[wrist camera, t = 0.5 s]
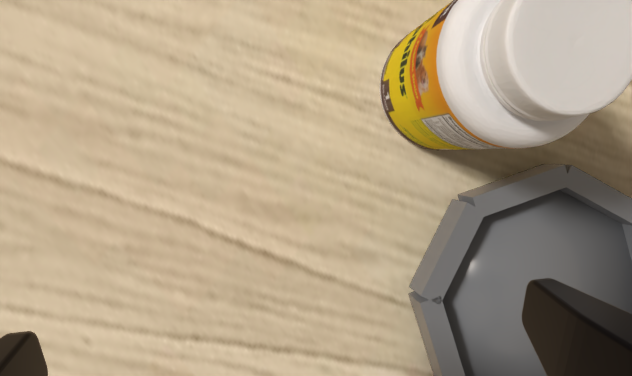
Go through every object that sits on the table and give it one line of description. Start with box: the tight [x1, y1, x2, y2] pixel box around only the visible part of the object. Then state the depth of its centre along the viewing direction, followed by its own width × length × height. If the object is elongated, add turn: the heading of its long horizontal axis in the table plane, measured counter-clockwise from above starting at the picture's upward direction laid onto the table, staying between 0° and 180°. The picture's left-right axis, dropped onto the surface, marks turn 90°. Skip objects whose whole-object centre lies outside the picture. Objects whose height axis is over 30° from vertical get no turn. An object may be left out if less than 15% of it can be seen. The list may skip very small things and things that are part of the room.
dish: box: [409, 164, 632, 376], centre depth 24 cm, size 12×12×2 cm
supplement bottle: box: [380, 0, 632, 150], centre depth 18 cm, size 6×6×10 cm
